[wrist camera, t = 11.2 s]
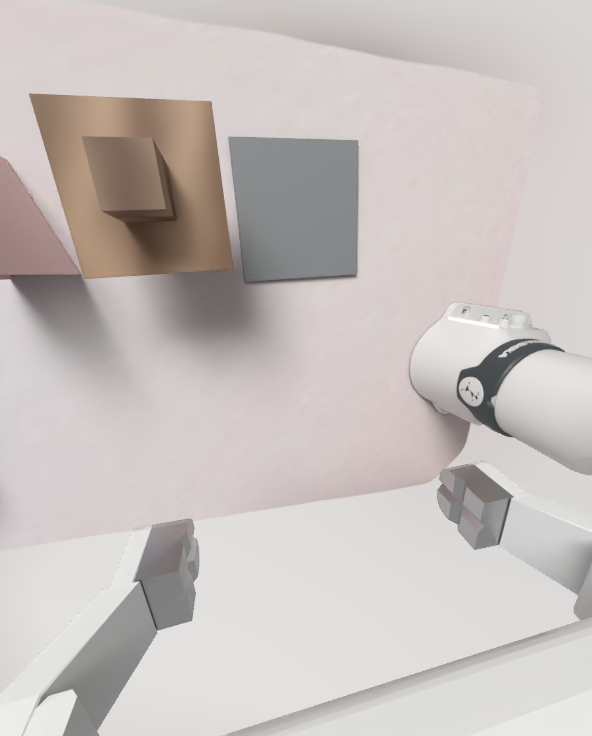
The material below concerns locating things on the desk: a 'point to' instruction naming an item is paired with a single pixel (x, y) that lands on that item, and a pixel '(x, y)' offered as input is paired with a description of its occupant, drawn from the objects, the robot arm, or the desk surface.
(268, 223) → the rubber mat
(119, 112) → the walnut lid
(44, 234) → the greeting card
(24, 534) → the desk surface
